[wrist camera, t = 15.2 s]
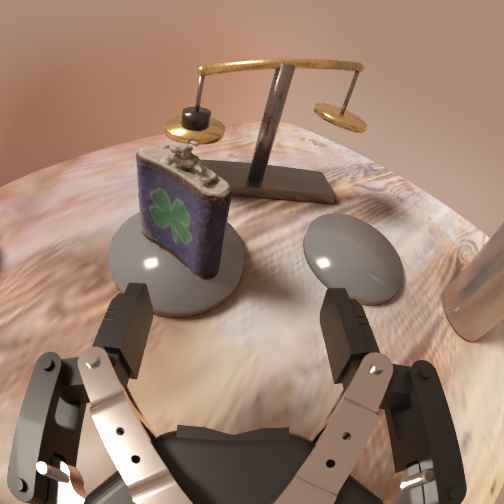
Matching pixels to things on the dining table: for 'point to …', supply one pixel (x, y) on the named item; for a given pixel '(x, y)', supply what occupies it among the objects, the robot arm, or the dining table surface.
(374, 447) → the dining table surface
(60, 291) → the dining table surface
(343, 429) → the robot arm
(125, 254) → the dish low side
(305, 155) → the dining table surface
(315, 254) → the gray domed disc
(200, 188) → the flask
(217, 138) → the balance
